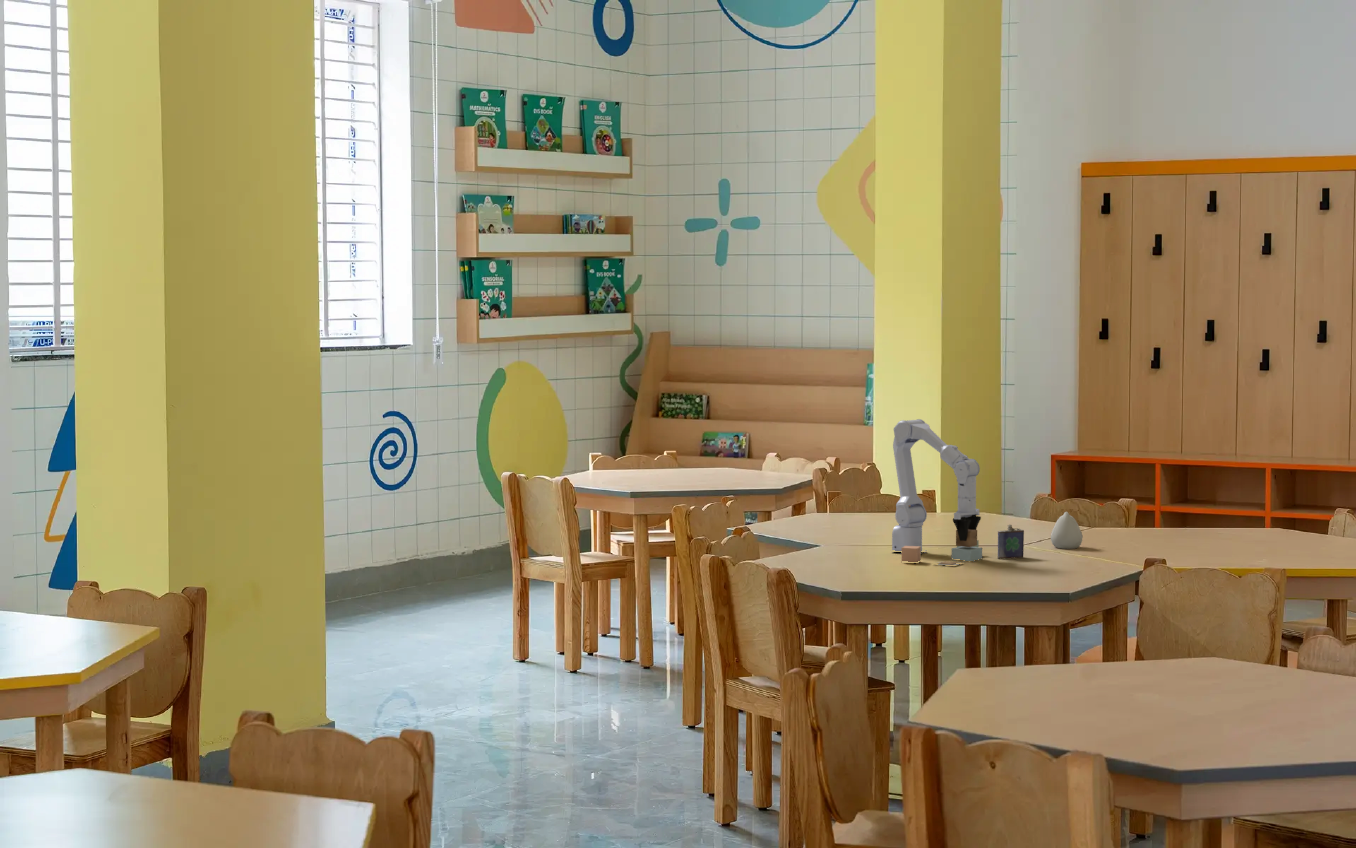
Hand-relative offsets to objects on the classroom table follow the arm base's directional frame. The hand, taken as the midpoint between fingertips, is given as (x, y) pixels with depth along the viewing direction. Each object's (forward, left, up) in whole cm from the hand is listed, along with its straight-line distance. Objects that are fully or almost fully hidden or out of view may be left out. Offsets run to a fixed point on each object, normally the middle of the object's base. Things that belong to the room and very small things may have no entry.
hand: (966, 539), depth 463 cm
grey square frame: (0, -13, -6) cm, 14 cm away
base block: (0, 0, -7) cm, 7 cm away
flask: (+10, +11, -7) cm, 16 cm away
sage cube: (-4, +9, -6) cm, 12 cm away
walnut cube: (0, 0, -2) cm, 2 cm away
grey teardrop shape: (+16, +43, -7) cm, 46 cm away
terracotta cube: (-12, -15, -6) cm, 20 cm away
